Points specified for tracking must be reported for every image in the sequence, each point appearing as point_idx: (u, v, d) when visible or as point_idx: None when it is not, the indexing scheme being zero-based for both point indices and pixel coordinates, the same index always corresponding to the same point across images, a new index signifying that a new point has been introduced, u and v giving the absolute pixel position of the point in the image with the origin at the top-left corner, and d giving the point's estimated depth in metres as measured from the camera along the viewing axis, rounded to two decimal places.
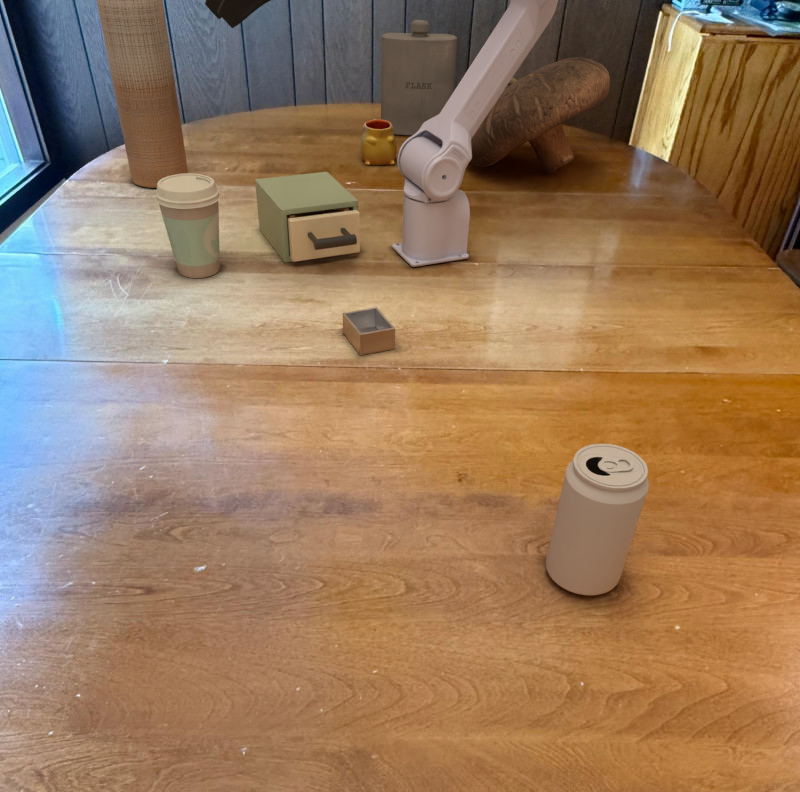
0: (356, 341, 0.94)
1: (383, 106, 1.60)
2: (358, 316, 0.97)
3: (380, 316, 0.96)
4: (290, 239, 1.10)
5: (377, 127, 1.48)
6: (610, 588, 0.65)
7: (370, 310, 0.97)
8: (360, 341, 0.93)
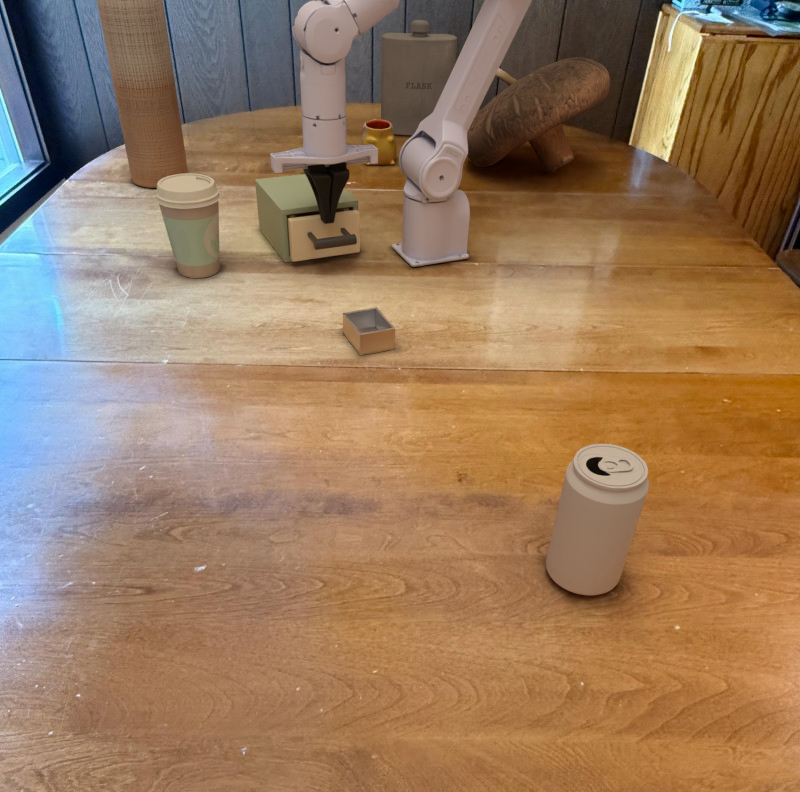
0: (356, 341, 0.94)
1: (383, 106, 1.60)
2: (358, 316, 0.97)
3: (380, 316, 0.96)
4: (290, 239, 1.10)
5: (377, 127, 1.48)
6: (610, 588, 0.65)
7: (370, 310, 0.97)
8: (360, 341, 0.93)
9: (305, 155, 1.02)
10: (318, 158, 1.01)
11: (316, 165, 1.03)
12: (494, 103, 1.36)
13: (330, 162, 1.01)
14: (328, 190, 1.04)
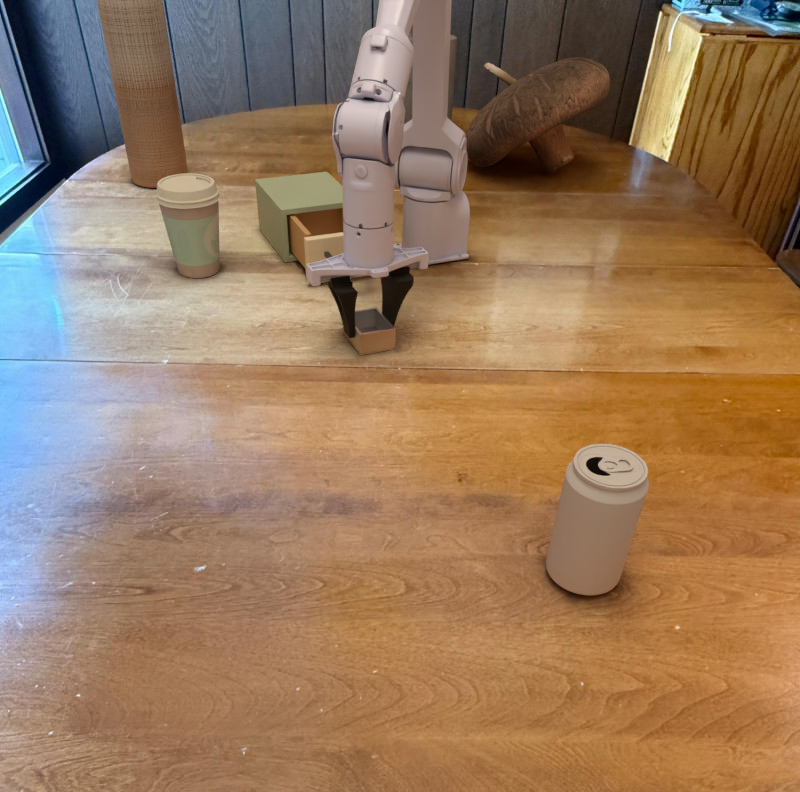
0: (356, 341, 0.94)
1: None
2: (359, 315, 0.97)
3: (380, 316, 0.96)
4: (306, 258, 1.05)
5: None
6: (610, 588, 0.65)
7: (370, 310, 0.97)
8: (360, 341, 0.93)
9: None
10: None
11: None
12: (494, 103, 1.36)
13: None
14: (383, 284, 0.95)
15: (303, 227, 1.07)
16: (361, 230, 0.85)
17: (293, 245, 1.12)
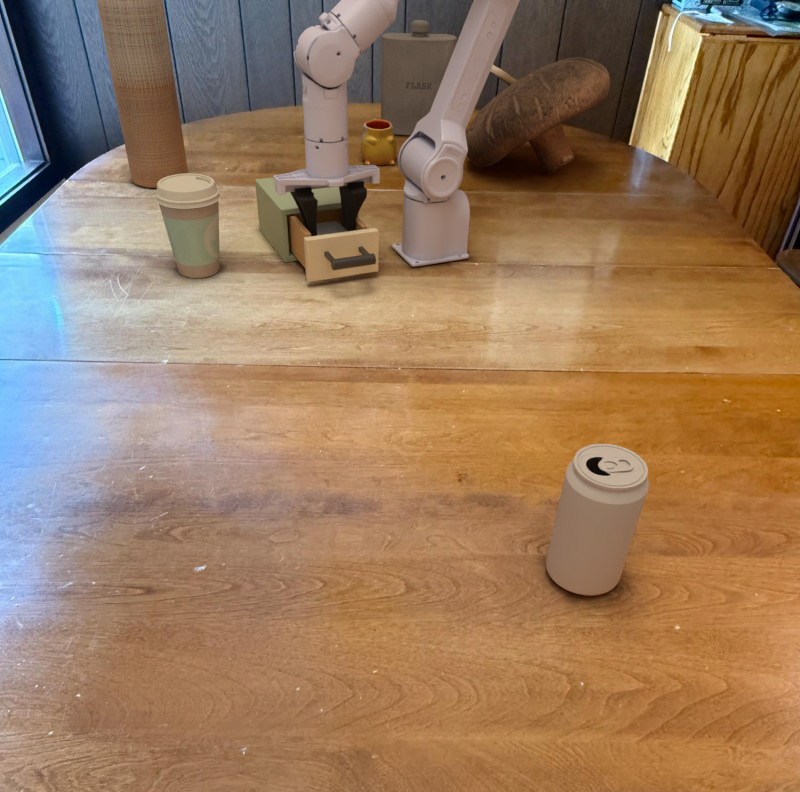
0: None
1: (383, 106, 1.60)
2: (321, 228, 1.11)
3: (340, 227, 1.11)
4: (306, 258, 1.05)
5: (377, 127, 1.48)
6: (610, 588, 0.65)
7: (332, 223, 1.12)
8: None
9: None
10: None
11: None
12: (494, 103, 1.36)
13: None
14: (342, 199, 1.09)
15: (303, 227, 1.07)
16: (319, 144, 0.99)
17: (293, 245, 1.12)
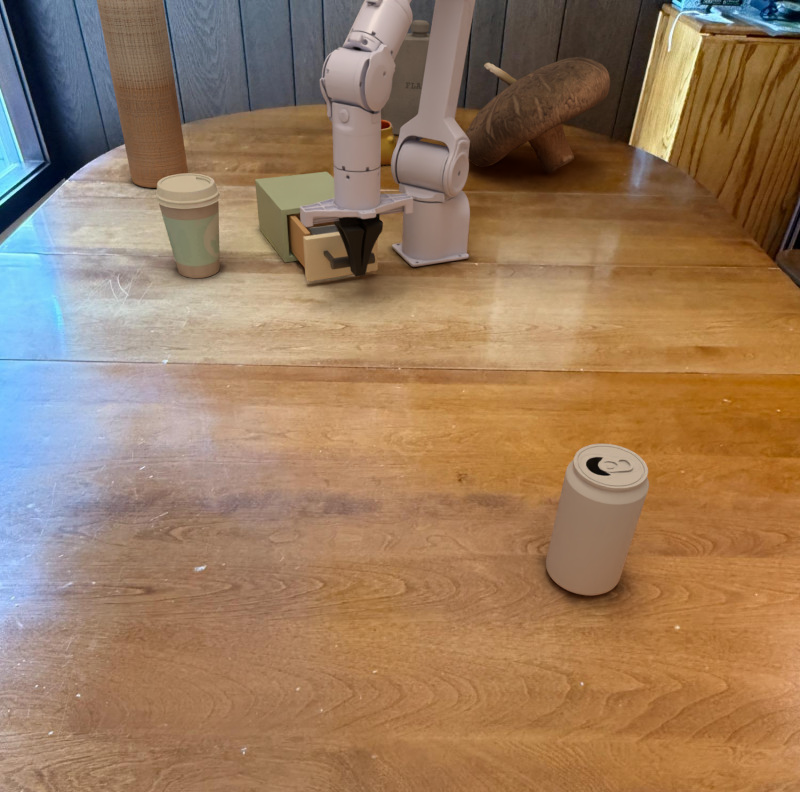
0: None
1: None
2: (321, 231, 1.12)
3: None
4: (305, 258, 1.05)
5: None
6: (610, 588, 0.65)
7: (331, 226, 1.12)
8: None
9: None
10: None
11: None
12: (494, 103, 1.36)
13: None
14: None
15: (302, 226, 1.07)
16: (350, 173, 0.92)
17: (292, 244, 1.12)
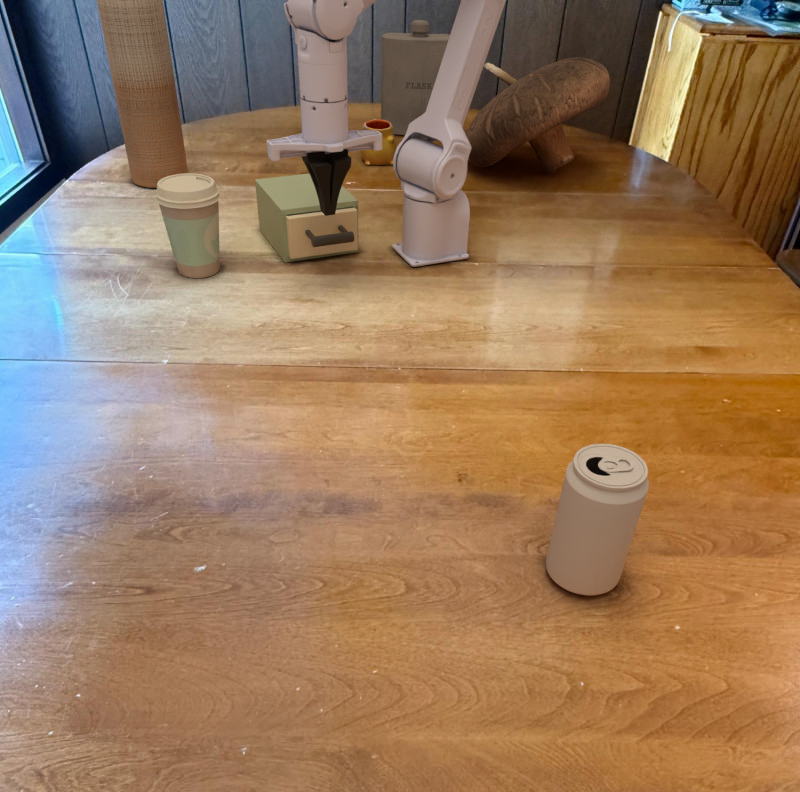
0: None
1: (383, 106, 1.60)
2: None
3: None
4: (288, 236, 1.11)
5: (377, 127, 1.48)
6: (610, 588, 0.65)
7: None
8: None
9: None
10: None
11: None
12: (494, 103, 1.36)
13: None
14: None
15: None
16: (316, 104, 0.91)
17: None
